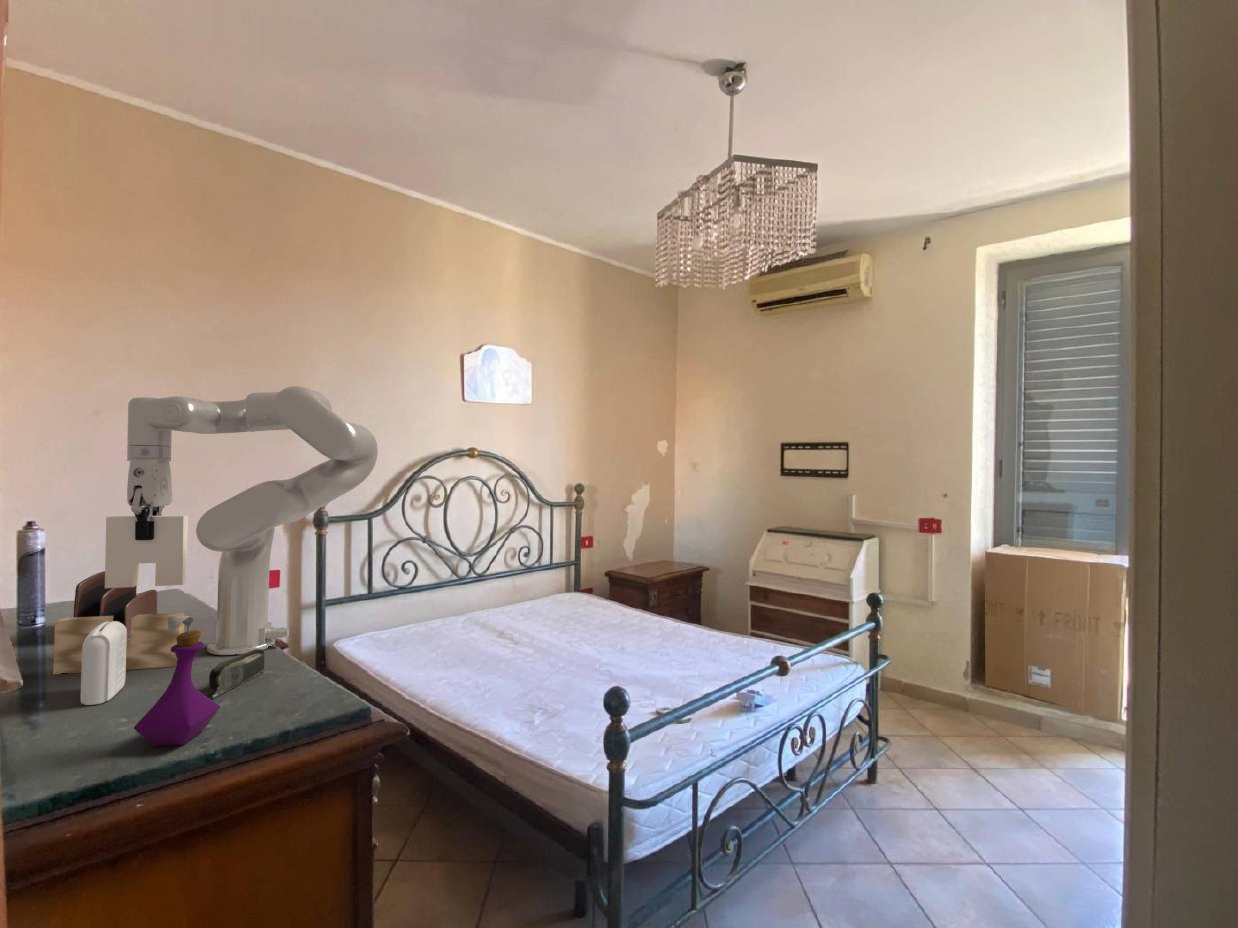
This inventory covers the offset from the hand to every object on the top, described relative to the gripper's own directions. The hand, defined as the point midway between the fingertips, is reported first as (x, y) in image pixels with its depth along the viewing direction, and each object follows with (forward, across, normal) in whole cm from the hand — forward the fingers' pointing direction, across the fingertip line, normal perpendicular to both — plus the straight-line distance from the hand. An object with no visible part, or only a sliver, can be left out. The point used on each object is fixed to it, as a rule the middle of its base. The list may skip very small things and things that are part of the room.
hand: (148, 538), depth 129 cm
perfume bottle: (+24, -52, -24) cm, 62 cm away
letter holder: (+24, +18, +13) cm, 33 cm away
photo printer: (+24, -29, -5) cm, 38 cm away
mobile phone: (+25, -29, -25) cm, 46 cm away
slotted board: (+24, -14, -1) cm, 28 cm away
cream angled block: (+10, 0, 0) cm, 10 cm away
